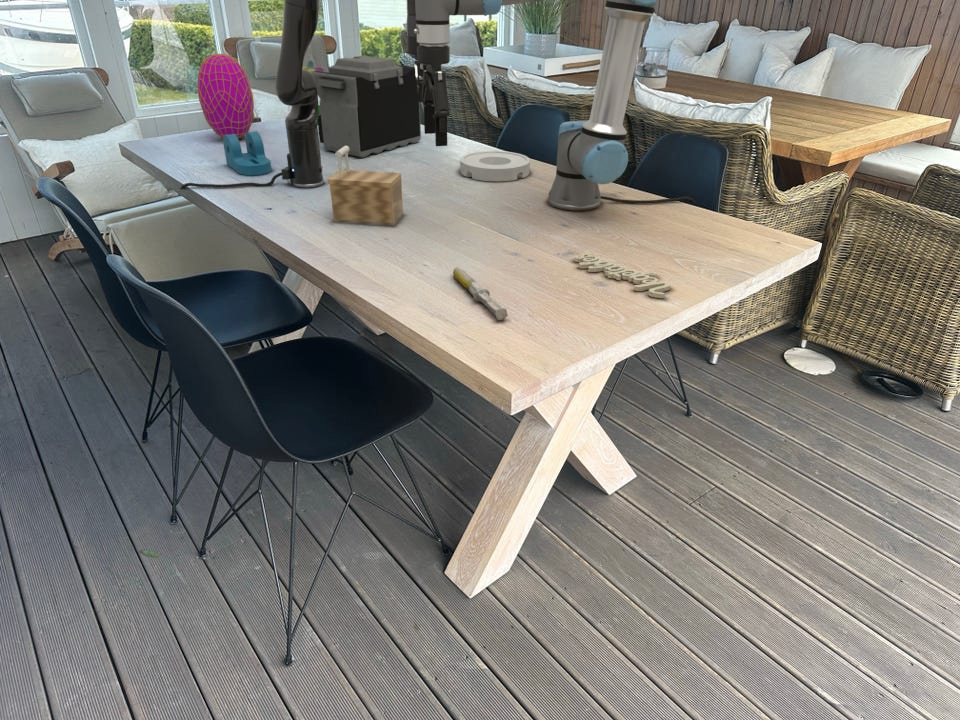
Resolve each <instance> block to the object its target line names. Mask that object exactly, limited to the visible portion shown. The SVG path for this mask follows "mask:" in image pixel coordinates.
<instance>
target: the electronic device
mask: <svg viewBox="0 0 960 720" xmlns="http://www.w3.org/2000/svg"><path fill="white" fill-rule="evenodd" d="M311 74H312V75H313V77H314V79H315V81H316V85H317V92H318V99H319V105H320V111H321V115H319V116H318V119H317V120H318V124H317V127H318V137H319V144H323V146H324V149H325V150H327V151H330V152H335V153H336V152H337V151H338V150H340V149H341V148H343V147H344V146H348V147H349V149H350V150H349V152H348V156H353V157H357V158H362V159H363V158H366V157H367V158H368V157H369V155H371V154H375V155H377V154H381V153H382V152H383V151H391V150H395V149H396V148H397V147H405V146H407V145H408V144H416V143H418V142H419V141H421V137H422V128H421V102H419V101H418V86H417V82H418V80H417V79H416V73H415V68H414V66H408V65H400V64H396V62H395V60H394V59H393V58H385V57H377V56H367V55H356V56H353V57H350V58H349V57H343V58H342V57H341V58H337V59H336V60H335V63H334V64H333V65H330V66H329V67H328V72H327V71H323V72H321V71H313V72H311Z"/></svg>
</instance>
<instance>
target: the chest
mask: <svg viewBox="0 0 960 720" xmlns="http://www.w3.org/2000/svg"><path fill="white" fill-rule="evenodd" d="M329 188H330V189H329V191H330V198H331V209H332V219H333V223H338V224H350V225H351V224H353V225H365V226H383V227H395V225H396V224H397V223H398V222H399V221H400V219H401V218H402V217H403V216H404V206H403V205H404V204H403V203H404V202H403V183H402V178H401V179H400V180H399V181H398V182H397V183H396V184H395V185H394V186H393V187H392V188H383V187H367V186H351V185H335V184H329Z"/></svg>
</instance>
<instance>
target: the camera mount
mask: <svg viewBox="0 0 960 720" xmlns="http://www.w3.org/2000/svg"><path fill="white" fill-rule="evenodd" d="M244 137H245V146H246V152H243V151H242V150H243V149H242V146H241V142H240V140H239V139H238V138H237V136H236V135H235V134H230V135H224V137H223V138H222V140H223V141H222V143H223V149H224V150H223V151H224V156H225V161H226V165H227V166H228V167H230V168H231V169H232V170H234V171H236V172H237V173H238V174H239V175H244V176H260V175H265V174H268V173H271V172H272V164H271V159H270V158H268V157H267V156H266V153H265V145H264V141H263V139H262V136H261V134H260V132H258V131H248V132H247V133H246V135H245V136H244Z"/></svg>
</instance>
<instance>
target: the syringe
mask: <svg viewBox="0 0 960 720" xmlns="http://www.w3.org/2000/svg"><path fill="white" fill-rule="evenodd" d="M452 274H453V277H454V279H455V280H457V281H458V282H459V283H460V285H462V287H464V289H466V290H467V291H468V293H470V295H471V296H472V298H473V300H474V302H477V303H478V302H480V303H482V304H483V305H484V306H485V307H486V308H487V309H488V310H489V311H490V312H491V313H492V314H493V315H494V316H495V317H496V320H497V321H503V320H504V319H506V318H507V317H509V314H508V310H507V308H506V307H502V306H501V305H500V303H498V302H497V301H496V300H494V299H493V298H492V297H491V296H490V295H491V293H490V290H488V289H486V288H483V287H482V286H481V285H480V284H479V283H478V282H477V281H476V280H474V278H473V277H471V275H469V274H468V273H467V272H466V270H465V269H464V268H463V267H462V266H456V267H454V268H453V271H452Z"/></svg>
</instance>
